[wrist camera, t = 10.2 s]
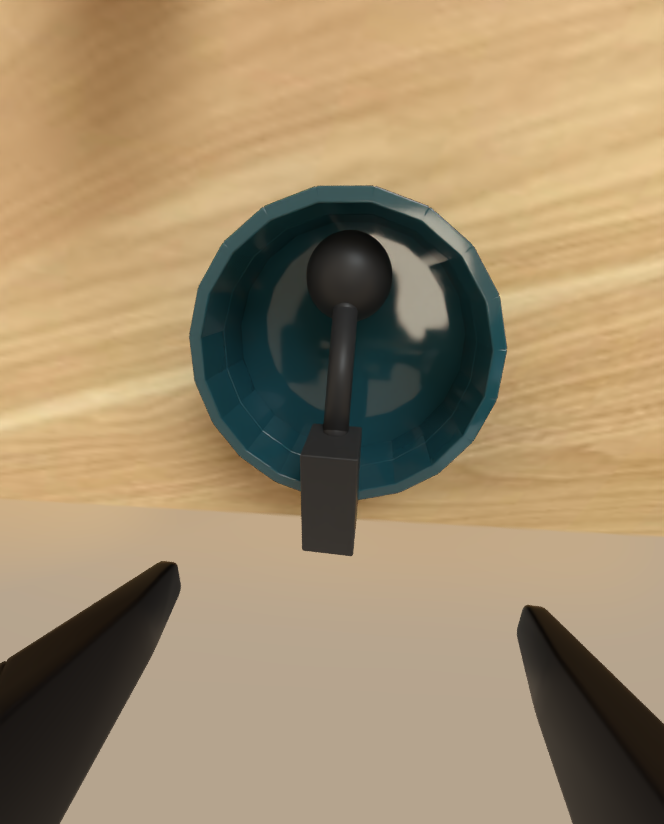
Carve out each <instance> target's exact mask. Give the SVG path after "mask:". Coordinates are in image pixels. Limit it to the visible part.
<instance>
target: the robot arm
mask: <svg viewBox="0 0 664 824" xmlns="http://www.w3.org/2000/svg"><path fill="white" fill-rule="evenodd" d="M180 589H181V583H180V578H179V572H178V567H177V564H176V563H174V562H167V561H161V562H159V563H157V564H155V565H154V566H152V567H151V568H149V569H148V570H146V571H144V572H143V573H141V574H140V575H138V576H137V577H135V578H133V579H132V580H130V581H129V582H127V583H126V584H124V585H123V586H121V587H119V588H118V589H116V590H115V591H113V592H112V593H110V594H108V595H107V596H105V597H104V598H102V599H101V600H99V601H98V602H96V603H94V604H93V605H91V606H90V607H88V608H87V609H85V610H83V611H82V612H80V613H79V614H77V615H76V616H74V617H73V618H71V619H69V620H68V621H66V622H65V623H63V624H61V625H60V626H58V627H57V628H55V629H54V630H52V631H51V632H49V633H47V634H46V635H44V636H43V637H41V638H40V639H38V640H36V641H35V642H33V643H32V644H30V645H29V646H27V647H26V648H24V649H22V650H21V651H19V652H18V653H16V654H15V655H13V656H11V657H10V658H9V659H8V660H7V662H6V661H4V662H2V663H0V824H60V822H61V820H62V819H63V817H64V815H65V813H66V811H67V810H68V808H69V806H70V804H71V802H72V800H73V798H74V797H75V795H76V793H77V791H78V790H79V788H80V786H81V784H82V782H83V780H84V778H85V777H86V775H87V773H88V771H89V769H90V768H91V766H92V764H93V762H94V760H95V758H96V757H97V755H98V753H99V751H100V749H101V748H102V746H103V744H104V742H105V740H106V739H107V737H108V735H109V733H110V731H111V729H112V728H113V726H114V724H115V722H116V720H117V719H118V717H119V715H120V713H121V711H122V709H123V708H124V706H125V704H126V702H127V700H128V699H129V697H130V695H131V693H132V691H133V689H134V688H135V686H136V684H137V682H138V680H139V678H140V677H141V675H142V673H143V671H144V669H145V667H146V666H147V664H148V662H149V660H150V658H151V656H152V654H153V652H154V650H155V648H156V646H157V643H158V641H159V639H160V637H161V635H162V632H163V630H164V628H165V625H166V623H167V621H168V619H169V616H170V614H171V612H172V609H173V607H174V605H175V603H176V600H177V598H178V596H179V593H180ZM517 637H518V642H519V647H520V651H521V655H522V659H523V663H524V667H525V672H526V676H527V680H528V684H529V689H530V693H531V697H532V701H533V705H534V708H535V712H536V716H537V719H538V722H539V725H540V728H541V731H542V734H543V737H544V740H545V743H546V746H547V749H548V752H549V755H550V758H551V761H552V764H553V767H554V770H555V773H556V776H557V779H558V782H559V784H560V788H561V790H562V793H563V796H564V799H565V802H566V805H567V808H568V811H569V814H570V817H571V820H572V823H573V824H664V724H663V723H662V722H661V721H660V720H659V719H658V718H657V717H656V716H655V715H654V714H653V713H652V712H651V711H650V710H649V709H648V708H647V707H646V706H645V705H644V704H643V703H642V702H641V701H640V700H639V699H637V698H636V696H634V695H633V694H632V693H631V692H630V691H629V690H628V689H627V688H626V687H625V686H624V685H623V684H622V683H621V682H620V681H619V680H618V679H617V678H616V677H615V676H614V675H613V674H612V673H611V672H610V671H609V670H608V669H607V668H606V667H605V666H604V665H603V664H602V663H601V662H600V661H598V659H597V658H595V657H594V656H593V655H592V654H591V653H590V652H589V651H588V650H587V649H586V648H585V647H584V646H583V645H582V644H581V643H580V642H579V641H578V640H577V639H576V638H575V637H574V636H573V635H572V634H571V633H570V632H569V631H568V630H567V629H566V628H565V627H564V626H563V625H561V624H560V622H559V621H558V620H556V619H555V618H554V617H553V616H552V615H551V614H550V613H549V612H548V611H547V610H546V609H545V608H543V607H539V606H532V605H526V606H525V607H524V608H523V610H522V614H521V617H520V621H519V624H518V628H517Z"/></svg>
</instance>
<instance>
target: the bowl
mask: <svg viewBox="0 0 664 824" xmlns="http://www.w3.org/2000/svg"><path fill="white" fill-rule="evenodd" d="M344 230H357V231H361V232H364V233H367V234H369V235H371V236H372V237H374V238H375V239H376V240H378V241H379V242H380V244H381V245H382V246H383V247H384V249H385V250H386V252H387V254H388V256H389V258H390V261H391V265H392V273H393V276H392V285H391V289H390V292H389V295H388V297H387V299H386V300H385V302H384V304H383V305H382V306H381V307H380V308H379V310H378V311H376V312H375V313H374V314H373V315H371V316H370V317H368V318H366V319H363V320H360V321H357V328H356V341H355V354H354V367H353V381H352V394H351V407H350V420H349V426H353V427H361V428H362V438H361V455H360V471H359V488H358V500H362V499H367V498H373V497H378V496H384V495H390V494H395V493H399V492H402V491H404V490H406V489H408V488H410V487H412V486H414V485H416V484H418V483H420V482H422V481H424V480H426V479H428V478H430V477H432V476H435V475H437V474H438V472H439V473H440V472H441V471H442V470H443V469H444V468H445V467H446V466H447V465H449V464H450V463H451V462H452V461H453V460H454V459H455V458H456V457H457V456H458V455H459V454H460V453H462V452H463V451H464V450H465V449H466V448H467V447H468V446H469V445H470V444H471V443H472V441H474V439H475V437H476V436H477V434H478V432H479V430H480V429H481V427H482V425H483V423H484V422H485V420H486V418H487V416H488V415H489V413H490V411H491V409H492V408H493V406H494V404H495V402H496V399H497V398H498V393H499V388H500V383H501V378H502V373H503V368H504V363H505V358H506V353H507V350H506V349H507V343H506V336H505V329H504V322H503V314H502V307H501V300H500V296H499V293H498V291H497V289H496V287H495V285H494V283H493V281H492V280H491V278H490V276H489V274H488V272H487V270H486V268H485V266H484V264H483V262H482V261H481V259H480V257H479V255H478V253H477V251H476V249H475V247H474V246H473V245H472V244H471V243H470V242H469V241H468V240H467V239H466V238H465V237H464V236H462V235H461V234H460V233H459V232H458V231H457V230H456V229H455V228H453V227H452V226H451V225H450V224H449V223H448V222H447V221H446V220H444V219H443V218H442V217H441V216H440V215H439V214H438V213H437V212H436V211H434V210H433V209H432V208H431V207H429V206H428V205H425V204H422V203H420V202H417V201H414V200H412V199H409V198H406V197H404V196H401V195H399V194H396V193H393V192H391V191H388V190H385V189H383V188H380V187H377V186H375V187H374V186H373V185H355V186H317V187H315V186H314V187H312V188H309V189H306V190H304V191H301V192H299V193H296V194H294V195H291V196H288V197H286V198H283V199H281V200H278V201H276V202H273V203H270V204H268V205H265V206H264V207H262V208H261V209H260V210H259V211H258V212H256V213H255V214H254V215H253V216H252V217H251V218H250V219H248V220H247V221H246V222H245V223H244V224H243V225H242V226H241V227H239V228H238V229H237V230H236V231H235V232H234V233H233V234H232V235H230V236H229V237H228V238H227V239H226V240H225V241H224V243H222V245H221V247H220V248H219V250H218V252H217V254H216V256H215V258H214V259H213V261H212V263H211V265H210V267H209V268H208V270H207V272H206V274H205V276H204V277H203V279H202V281H201V283H200V285H199V288H198V290H197V296H196V301H195V307H194V312H193V318H192V323H191V328H190V336H189V339H190V347H191V355H192V364H193V372H194V380H195V383H196V386H197V388H198V390H199V393H200V395H201V397H202V400H203V402H204V404H205V406H206V409H207V411H208V413H209V416H210V418H211V420H212V422H213V424H214V425H215V427H216V428H217V429H218V430H219V432H220V433H221V434H222V435H223V436H224V438H225V439H226V440H227V441H228V443H229V444H230V445H231V446H232V448H233V449H234V450H235V451H236V452H237V454H238V455H239V456H241V458H243V459H244V460H245V461H247V462H248V463H250V464H251V465H252V466H254V467H255V468H257V469H258V470H259V471H261V472H262V473H264V474H265V475H266V476H268V477H269V478H271V479H272V480H273V481H275V482H277V483H280V484H282V485H285V486H288V487H290V488H293V489H296V490H298V491H301V476H300V455H301V452H302V450H303V447H304V445H305V442H306V440H307V437H308V435H309V432H310V430H311V427H312V425H313V424H323V423H324V411H325V399H326V387H327V375H328V363H329V351H330V339H331V326H332V318H330V317H328V316H326V315H325V314H324V313H322V312H321V311H320V310H319V309H318V308H317V306H316V305H315V304H314V302H313V301H312V299H311V297H310V294H309V291H308V287H307V280H306V273H307V266H308V262H309V259H310V257H311V255H312V253H313V251H314V250H315V248H316V247H317V246H318V244H319V243H320V242H321V241H322V240H324V239H325V238H326V237H328V236H330V235H331V234H333V233H336V232H339V231H344Z"/></svg>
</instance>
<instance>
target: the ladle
mask: <svg viewBox="0 0 664 824" xmlns="http://www.w3.org/2000/svg"><path fill="white" fill-rule="evenodd" d="M392 276H393V273H392V265H391V261H390V258H389V256H388V254H387V252H386V250H385V249H384V247H383V246H382V245H381V244H380V242H379V241H378V240H376V239H375V238H374V237H372V236H371V235H369V234H367V233H364V232H361V231H357V230H344V231H339V232H336V233H333V234H331V235H330V236H328V237H326V238H325V239H324V240H322V241H321V242H320V243H319V244H318V246H317V247H316V248H315V250H314V251H313V253H312V255H311V257H310V259H309V262H308V266H307V273H306V280H307V287H308V291H309V294H310V297H311V299H312V301H313V302H314V304H315V305H316V306H317V308H318V309H319V310H320V311H321V312H322V313H324V314H325V315H326V316H328V317H330V318H332V326H331V339H330V351H329V363H328V375H327V387H326V399H325V411H324V423H323V424H313V425H312V427H311V430H310V432H309V435H308V437H307V440H306V442H305V445H304V447H303V450H302V452H301V455H300V476H301V517H302V549H303V550H304V551H312V552H321V553H329V554H338V555H346V556H352V555H353V549H354V538H355V529H356V518H357V505H358V488H359V471H360V455H361V438H362V428H361V427H353V426H349V420H350V407H351V394H352V381H353V367H354V354H355V341H356V328H357V321H360V320H363V319H366V318H368V317H370V316H371V315H373V314H374V313H375V312H376V311H378V310H379V308H380V307H381V306H382V305H383V304H384V302H385V300H386V299H387V297H388V295H389V292H390V289H391V285H392Z"/></svg>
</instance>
